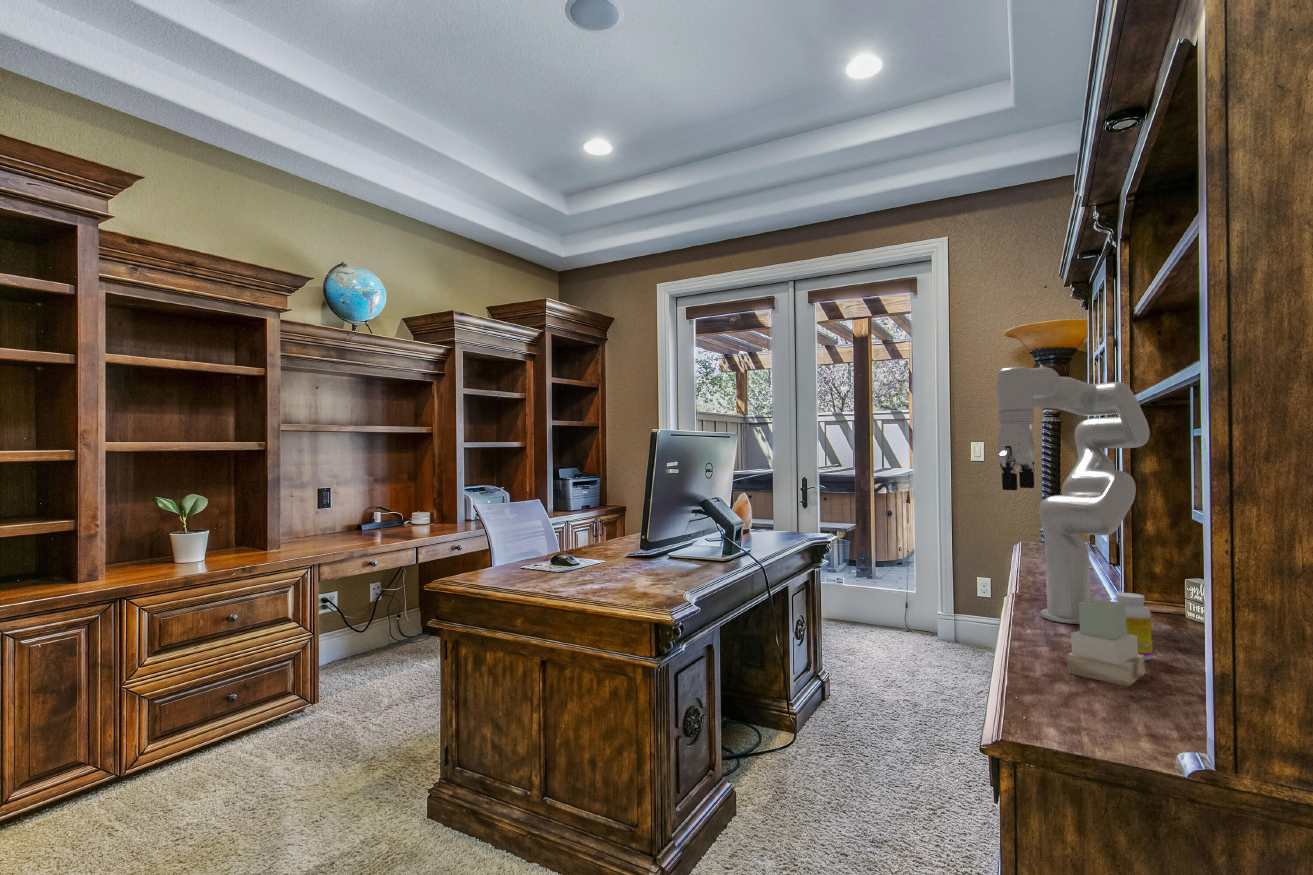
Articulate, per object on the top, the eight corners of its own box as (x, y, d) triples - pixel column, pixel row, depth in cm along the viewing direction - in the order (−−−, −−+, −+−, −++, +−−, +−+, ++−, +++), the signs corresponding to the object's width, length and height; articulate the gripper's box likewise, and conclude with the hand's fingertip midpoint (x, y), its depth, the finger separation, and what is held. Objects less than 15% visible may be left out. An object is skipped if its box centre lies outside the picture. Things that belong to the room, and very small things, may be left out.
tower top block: (1093, 646, 132) (1092, 626, 132) (1138, 656, 125) (1137, 635, 125) (1071, 653, 128) (1071, 633, 128) (1117, 664, 121) (1116, 642, 121)
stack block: (1091, 628, 131) (1090, 598, 131) (1126, 634, 126) (1125, 603, 126) (1080, 633, 127) (1078, 602, 128) (1115, 640, 123) (1114, 608, 123)
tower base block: (1086, 663, 134) (1085, 644, 134) (1145, 675, 126) (1144, 655, 126) (1067, 675, 127) (1067, 654, 127) (1128, 688, 119) (1127, 666, 120)
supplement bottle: (1160, 662, 132) (1157, 598, 132) (1123, 660, 133) (1120, 598, 134) (1142, 652, 139) (1139, 591, 139) (1107, 651, 140) (1105, 591, 140)
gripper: (1014, 419, 166) (1017, 486, 166) (983, 418, 155) (986, 490, 155) (1046, 418, 160) (1049, 487, 160) (1017, 417, 149) (1020, 491, 149)
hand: (1018, 488), depth 157 cm, fingers open, 9 cm apart
